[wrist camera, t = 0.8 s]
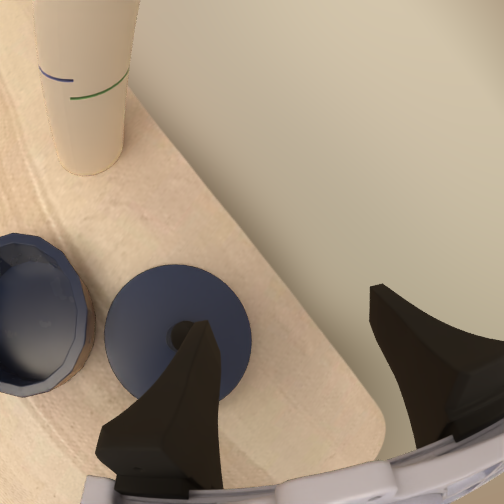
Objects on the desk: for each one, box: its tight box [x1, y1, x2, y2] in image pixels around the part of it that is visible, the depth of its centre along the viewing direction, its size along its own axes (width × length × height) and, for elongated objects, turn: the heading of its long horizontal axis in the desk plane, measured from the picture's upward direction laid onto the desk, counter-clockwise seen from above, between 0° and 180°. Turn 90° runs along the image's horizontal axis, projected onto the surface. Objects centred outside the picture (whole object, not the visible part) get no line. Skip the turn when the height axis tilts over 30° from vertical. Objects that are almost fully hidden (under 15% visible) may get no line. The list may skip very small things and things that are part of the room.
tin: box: [0, 233, 96, 398], centre depth 19 cm, size 12×12×5 cm
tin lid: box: [104, 265, 252, 401], centre depth 24 cm, size 13×13×5 cm
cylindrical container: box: [33, 0, 140, 176], centre depth 17 cm, size 7×7×25 cm
